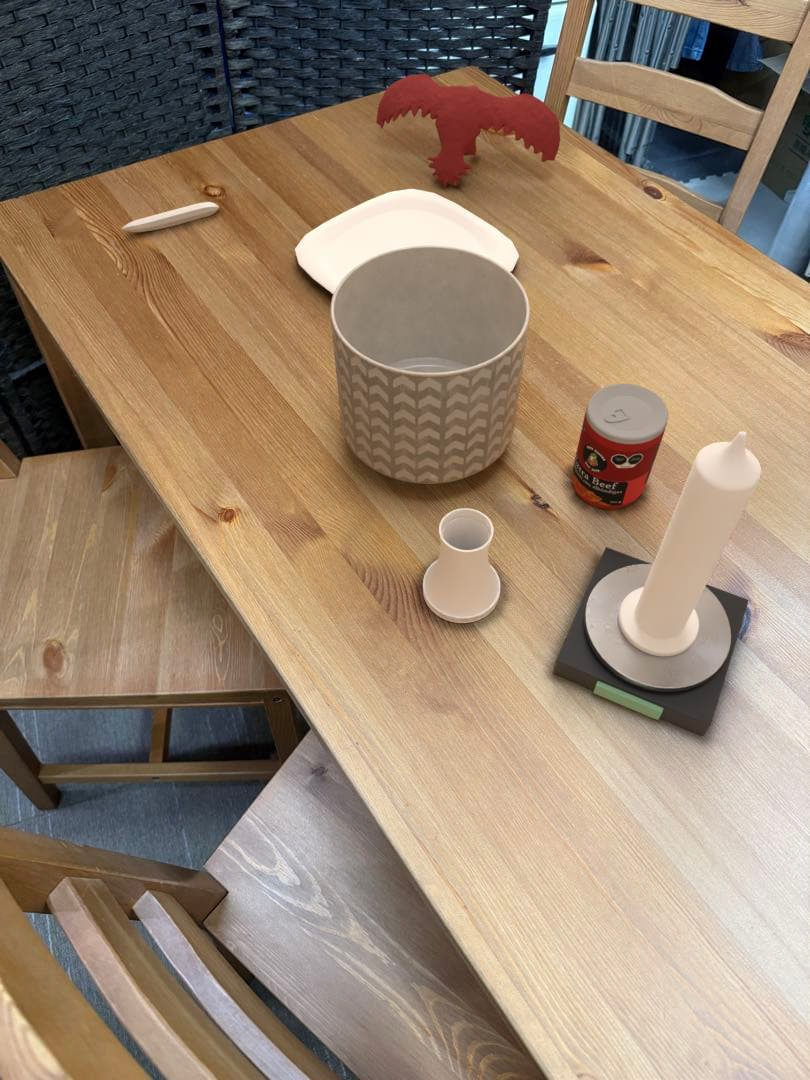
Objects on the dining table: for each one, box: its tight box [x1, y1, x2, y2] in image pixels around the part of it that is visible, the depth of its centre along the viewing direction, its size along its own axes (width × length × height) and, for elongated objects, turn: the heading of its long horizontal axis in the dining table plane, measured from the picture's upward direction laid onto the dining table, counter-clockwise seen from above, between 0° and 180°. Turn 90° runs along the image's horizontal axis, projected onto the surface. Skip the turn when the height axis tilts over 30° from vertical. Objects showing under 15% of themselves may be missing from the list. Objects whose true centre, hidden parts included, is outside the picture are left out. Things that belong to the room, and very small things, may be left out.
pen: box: [120, 201, 220, 233], centre depth 119 cm, size 2×14×2 cm, turn 116°
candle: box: [618, 430, 762, 656], centre depth 67 cm, size 7×7×25 cm
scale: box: [552, 546, 749, 737], centre depth 79 cm, size 14×14×4 cm
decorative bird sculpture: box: [375, 73, 561, 188], centre depth 125 cm, size 28×9×15 cm
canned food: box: [571, 383, 669, 510], centre depth 87 cm, size 8×8×11 cm
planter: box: [329, 245, 531, 485], centre depth 89 cm, size 19×19×18 cm
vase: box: [422, 507, 501, 624], centre depth 80 cm, size 8×8×10 cm
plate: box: [294, 188, 520, 296], centre depth 114 cm, size 25×25×2 cm
